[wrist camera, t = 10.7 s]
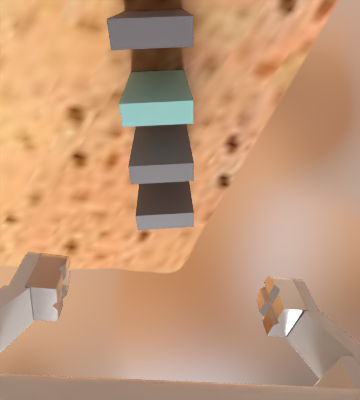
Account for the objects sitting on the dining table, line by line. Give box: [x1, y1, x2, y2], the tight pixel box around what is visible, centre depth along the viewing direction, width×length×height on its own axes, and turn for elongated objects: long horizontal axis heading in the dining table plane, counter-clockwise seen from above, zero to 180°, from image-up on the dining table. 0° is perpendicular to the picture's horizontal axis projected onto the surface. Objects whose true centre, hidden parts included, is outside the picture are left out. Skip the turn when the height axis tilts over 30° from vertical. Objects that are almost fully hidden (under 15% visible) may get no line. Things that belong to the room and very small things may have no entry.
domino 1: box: [107, 9, 193, 50], centre depth 21 cm, size 2×5×10 cm, turn 92°
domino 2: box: [128, 124, 194, 184], centre depth 27 cm, size 2×5×10 cm, turn 91°
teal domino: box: [119, 70, 193, 127], centre depth 24 cm, size 2×5×10 cm, turn 92°
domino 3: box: [136, 181, 194, 230], centre depth 30 cm, size 2×5×10 cm, turn 92°
